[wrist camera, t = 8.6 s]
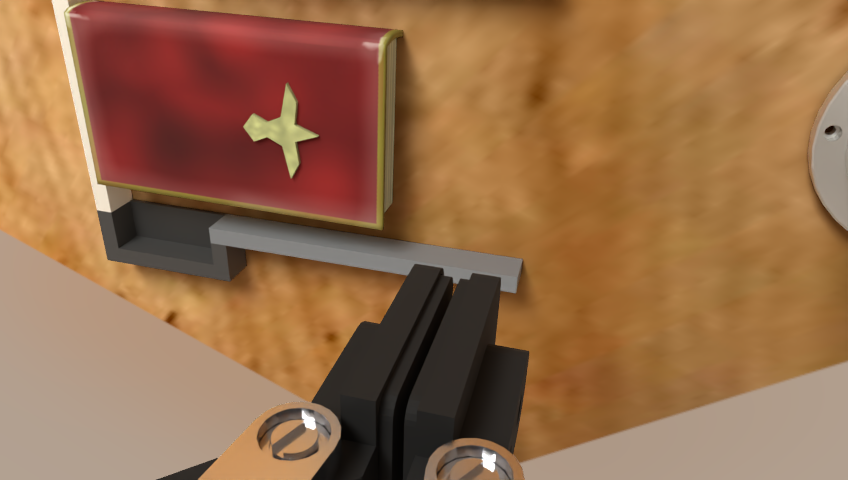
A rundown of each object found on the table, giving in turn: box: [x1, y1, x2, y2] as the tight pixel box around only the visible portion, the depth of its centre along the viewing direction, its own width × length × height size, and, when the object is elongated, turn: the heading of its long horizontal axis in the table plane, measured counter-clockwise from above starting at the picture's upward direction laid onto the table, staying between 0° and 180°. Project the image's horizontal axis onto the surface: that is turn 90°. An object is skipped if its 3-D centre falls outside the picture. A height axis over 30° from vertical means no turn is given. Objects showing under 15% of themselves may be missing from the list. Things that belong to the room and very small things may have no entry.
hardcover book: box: [64, 1, 403, 230], centre depth 43 cm, size 12×21×4 cm, turn 87°
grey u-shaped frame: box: [52, 0, 523, 293], centre depth 43 cm, size 31×26×2 cm
